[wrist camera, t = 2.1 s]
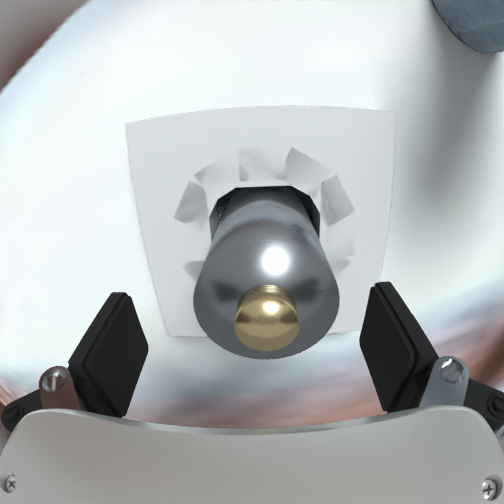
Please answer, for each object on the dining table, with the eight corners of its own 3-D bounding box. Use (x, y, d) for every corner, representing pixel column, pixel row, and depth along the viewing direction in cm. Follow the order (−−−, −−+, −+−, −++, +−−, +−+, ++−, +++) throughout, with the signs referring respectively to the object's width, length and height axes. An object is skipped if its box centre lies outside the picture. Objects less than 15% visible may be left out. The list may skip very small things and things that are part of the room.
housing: (376, 112, 16) (394, 112, 14) (359, 307, 23) (368, 329, 21) (143, 122, 17) (124, 123, 15) (176, 312, 24) (168, 335, 22)
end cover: (307, 180, 19) (356, 253, 9) (306, 258, 22) (335, 374, 12) (219, 183, 19) (172, 259, 9) (227, 261, 22) (200, 377, 12)
